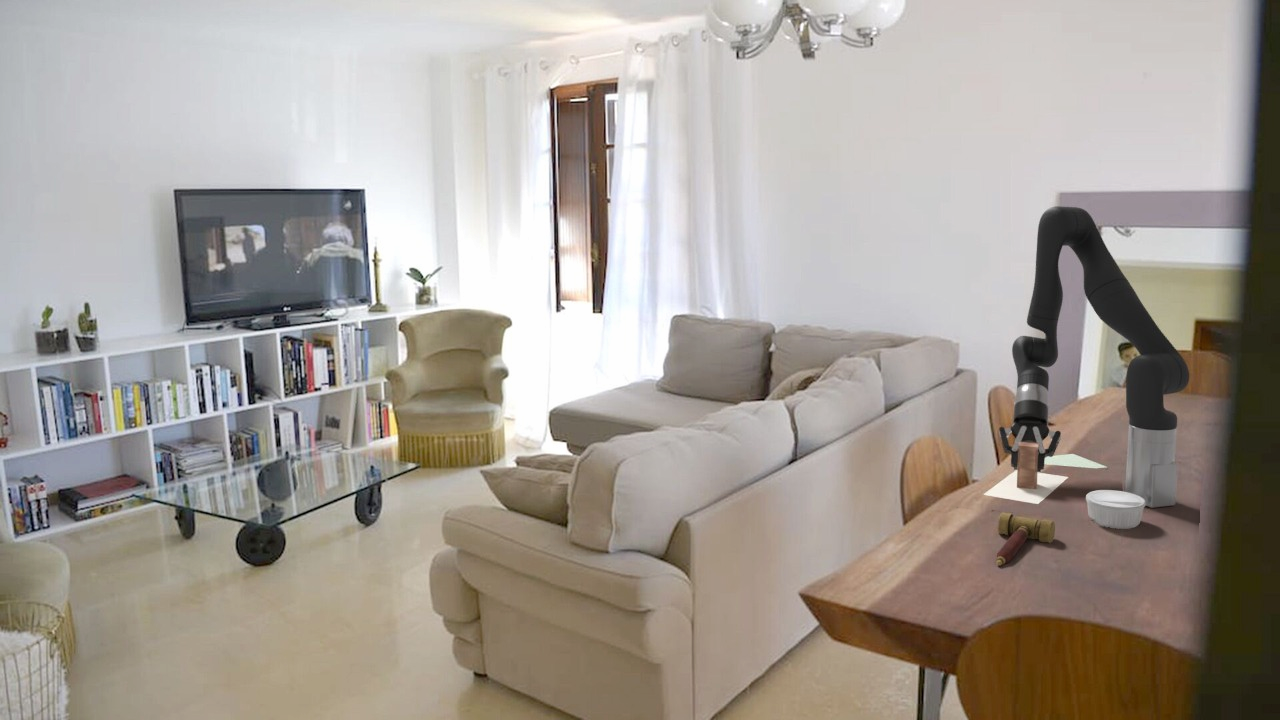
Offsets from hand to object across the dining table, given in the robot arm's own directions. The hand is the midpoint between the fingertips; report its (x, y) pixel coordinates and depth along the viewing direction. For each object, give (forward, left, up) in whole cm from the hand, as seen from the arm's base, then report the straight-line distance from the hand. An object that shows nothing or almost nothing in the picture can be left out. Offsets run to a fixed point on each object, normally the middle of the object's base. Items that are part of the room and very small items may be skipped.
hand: (1027, 468), depth 216 cm
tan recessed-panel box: (+2, -1, -5) cm, 5 cm away
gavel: (-30, +23, -6) cm, 38 cm away
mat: (+17, -23, -6) cm, 29 cm away
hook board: (+2, -1, -6) cm, 6 cm away
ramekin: (-22, -5, -6) cm, 24 cm away
